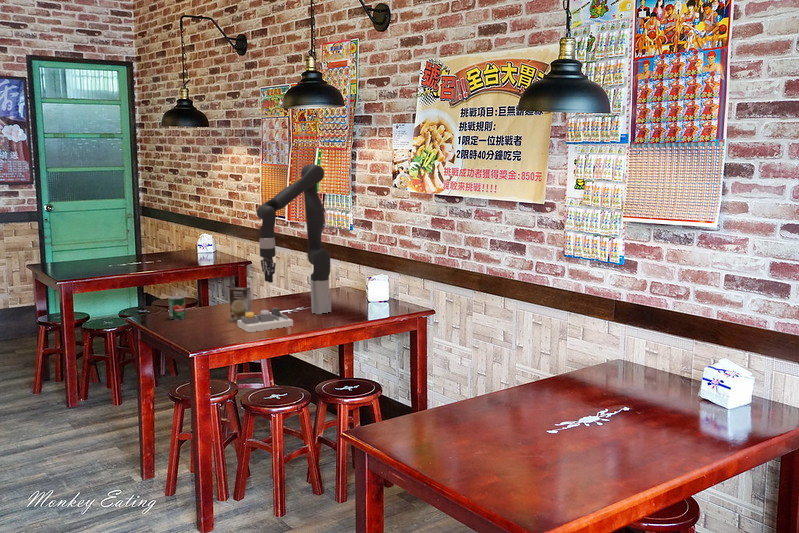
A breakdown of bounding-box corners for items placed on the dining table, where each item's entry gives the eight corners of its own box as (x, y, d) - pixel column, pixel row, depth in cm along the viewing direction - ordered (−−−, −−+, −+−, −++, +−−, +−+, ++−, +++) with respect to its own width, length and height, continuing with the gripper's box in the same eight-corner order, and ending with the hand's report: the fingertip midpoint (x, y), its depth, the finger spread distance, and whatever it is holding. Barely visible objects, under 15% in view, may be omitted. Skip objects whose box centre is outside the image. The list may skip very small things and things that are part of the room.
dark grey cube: (277, 315, 361) (277, 307, 361) (279, 316, 359) (279, 308, 358) (271, 316, 360) (271, 308, 359) (273, 317, 357) (273, 309, 357)
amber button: (252, 317, 351) (252, 311, 350) (255, 319, 348) (255, 313, 347) (244, 318, 349) (244, 312, 348) (247, 320, 346) (247, 314, 345)
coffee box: (230, 321, 363) (228, 289, 361) (234, 318, 370) (232, 287, 367) (248, 321, 363) (246, 289, 360) (252, 318, 369) (250, 287, 366)
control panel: (280, 320, 365) (280, 309, 364) (293, 326, 352) (292, 314, 351) (237, 326, 353) (237, 315, 353) (249, 332, 341) (248, 321, 340)
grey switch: (267, 315, 355) (267, 309, 354) (270, 317, 352) (270, 311, 351) (259, 316, 353) (259, 310, 352) (262, 318, 349) (262, 312, 349)
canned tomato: (175, 316, 376) (174, 295, 375) (189, 317, 374) (187, 296, 372) (166, 319, 369) (164, 298, 367) (179, 320, 366) (178, 299, 365)
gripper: (280, 247, 356) (281, 283, 359) (269, 244, 368) (270, 279, 371) (265, 249, 352) (267, 284, 355) (254, 246, 364) (256, 280, 367)
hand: (268, 281), depth 363 cm, fingers open, 3 cm apart
